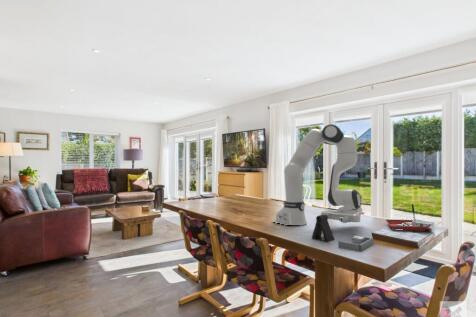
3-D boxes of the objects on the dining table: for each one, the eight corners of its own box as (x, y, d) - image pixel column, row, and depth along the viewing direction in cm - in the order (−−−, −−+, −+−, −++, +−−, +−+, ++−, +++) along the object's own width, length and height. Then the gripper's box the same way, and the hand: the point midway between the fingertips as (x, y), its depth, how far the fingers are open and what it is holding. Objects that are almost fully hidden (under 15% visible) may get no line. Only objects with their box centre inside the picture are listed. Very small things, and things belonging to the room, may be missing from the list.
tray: (338, 246, 123) (338, 241, 123) (352, 240, 133) (352, 234, 134) (360, 251, 116) (360, 245, 116) (373, 243, 126) (373, 238, 126)
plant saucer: (390, 231, 149) (390, 225, 149) (385, 224, 166) (385, 219, 166) (429, 233, 143) (429, 226, 143) (419, 225, 160) (419, 220, 160)
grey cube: (352, 246, 124) (351, 237, 124) (356, 244, 127) (355, 235, 127) (361, 247, 121) (360, 238, 121) (364, 245, 124) (364, 237, 124)
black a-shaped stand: (334, 239, 136) (333, 215, 136) (327, 242, 132) (326, 217, 132) (318, 236, 142) (317, 213, 143) (311, 238, 138) (310, 215, 139)
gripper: (327, 207, 163) (315, 210, 153) (362, 210, 148) (351, 214, 138) (328, 218, 163) (316, 221, 153) (363, 222, 148) (352, 226, 138)
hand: (333, 218), depth 146 cm, fingers open, 8 cm apart
